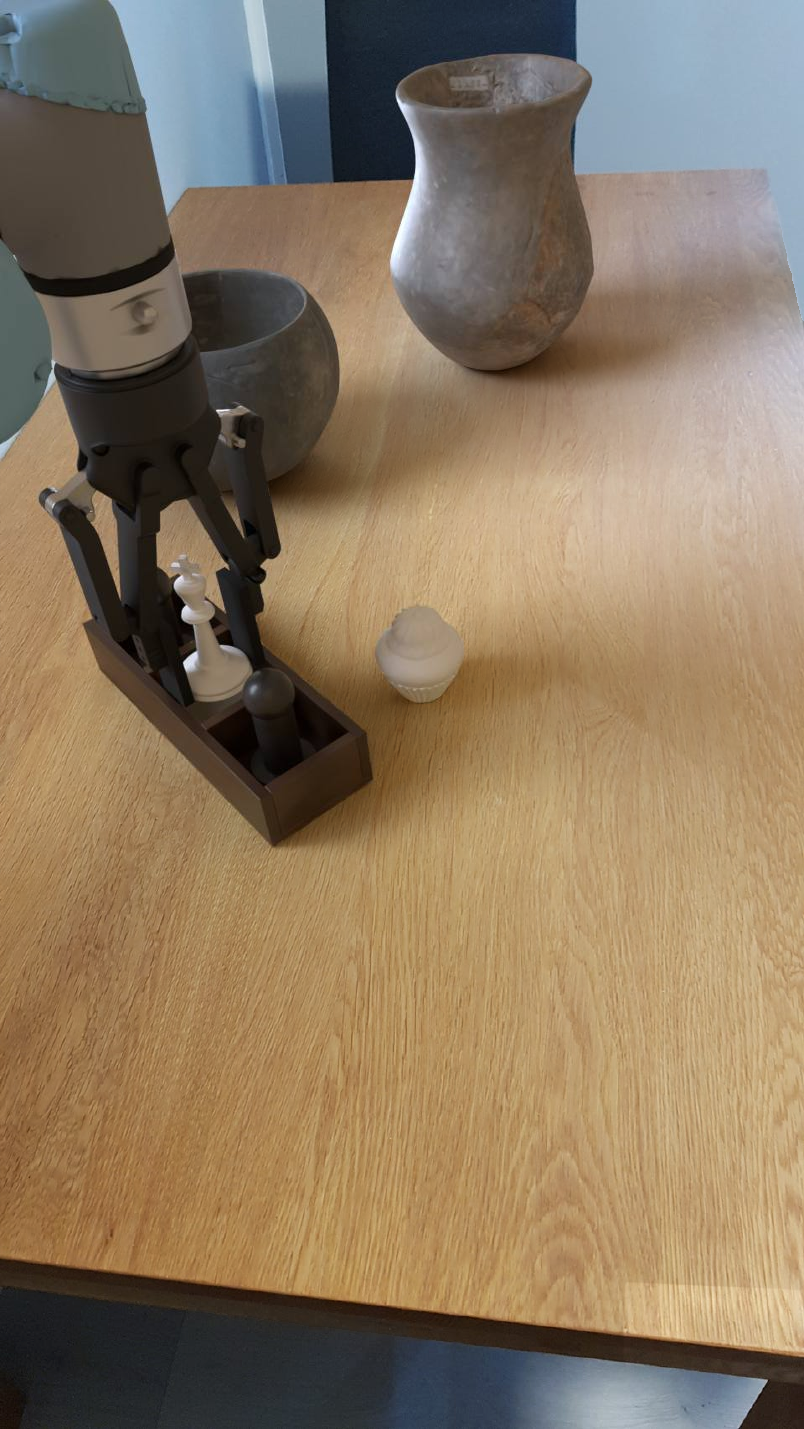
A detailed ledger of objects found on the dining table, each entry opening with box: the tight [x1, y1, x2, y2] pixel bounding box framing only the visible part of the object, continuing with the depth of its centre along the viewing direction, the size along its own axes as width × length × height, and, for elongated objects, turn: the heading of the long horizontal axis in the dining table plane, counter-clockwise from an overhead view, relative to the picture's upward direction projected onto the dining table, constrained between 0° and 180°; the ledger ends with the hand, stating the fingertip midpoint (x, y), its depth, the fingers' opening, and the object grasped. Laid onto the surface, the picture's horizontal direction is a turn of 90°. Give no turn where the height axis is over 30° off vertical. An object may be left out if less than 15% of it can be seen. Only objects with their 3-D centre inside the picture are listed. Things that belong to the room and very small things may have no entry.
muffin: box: [374, 604, 465, 704], centre depth 74 cm, size 6×6×7 cm
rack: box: [82, 573, 374, 848], centre depth 74 cm, size 8×23×5 cm, turn 40°
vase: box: [389, 53, 595, 371], centre depth 101 cm, size 20×19×25 cm
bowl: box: [181, 267, 341, 492], centre depth 93 cm, size 20×20×15 cm
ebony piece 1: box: [139, 566, 194, 668], centre depth 76 cm, size 4×4×9 cm
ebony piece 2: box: [242, 668, 317, 786], centre depth 67 cm, size 4×4×9 cm
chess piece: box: [170, 554, 252, 702], centre depth 69 cm, size 5×5×10 cm
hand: (215, 673), depth 72 cm, fingers closed on chess piece, 5 cm apart
